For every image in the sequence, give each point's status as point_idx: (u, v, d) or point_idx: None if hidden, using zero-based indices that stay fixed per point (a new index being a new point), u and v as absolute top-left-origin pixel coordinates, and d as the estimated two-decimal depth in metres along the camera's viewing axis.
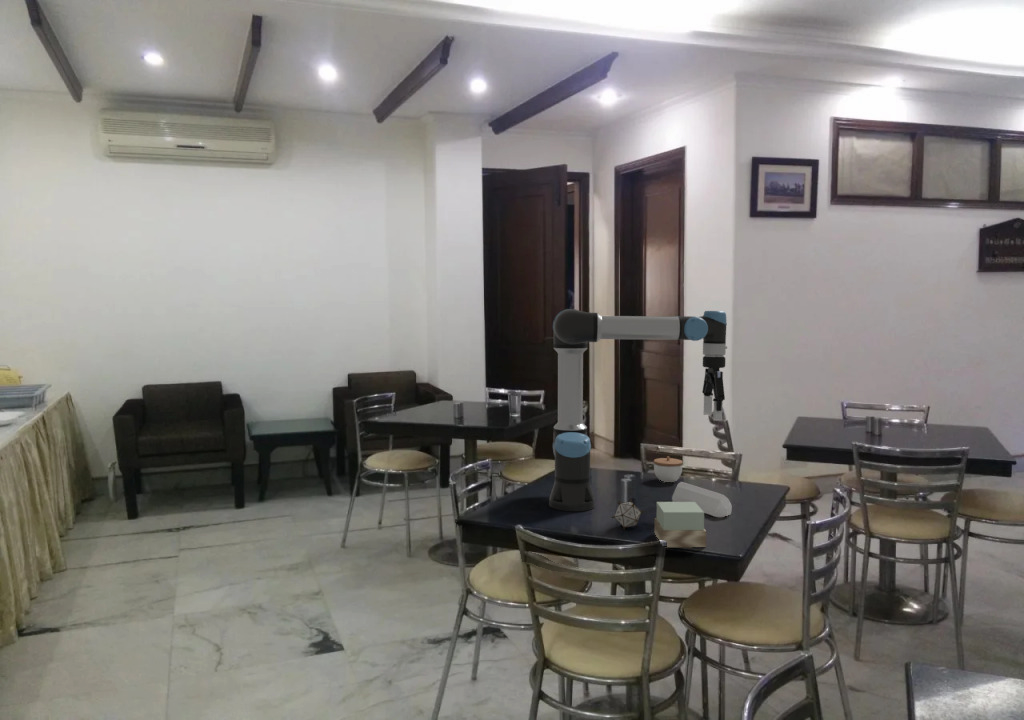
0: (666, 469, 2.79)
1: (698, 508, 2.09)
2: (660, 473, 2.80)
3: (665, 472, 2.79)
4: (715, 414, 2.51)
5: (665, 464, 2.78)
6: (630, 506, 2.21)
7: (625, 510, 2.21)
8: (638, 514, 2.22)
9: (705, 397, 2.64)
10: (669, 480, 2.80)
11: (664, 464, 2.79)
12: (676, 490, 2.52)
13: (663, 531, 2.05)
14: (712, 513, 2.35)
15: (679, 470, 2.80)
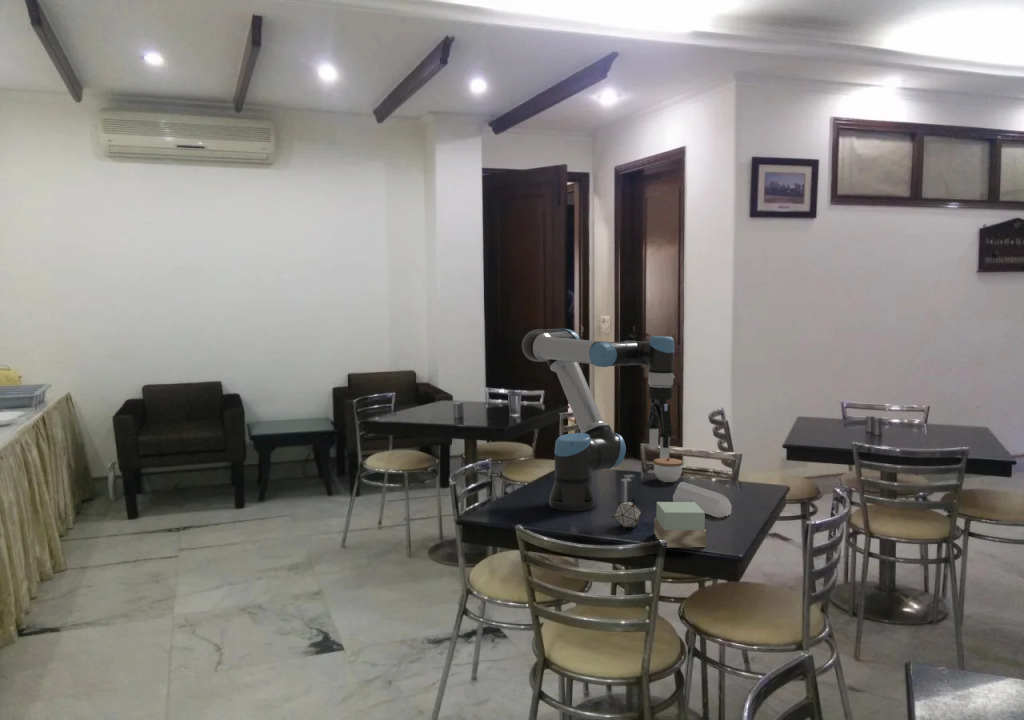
0: (666, 469, 2.79)
1: (698, 508, 2.09)
2: (660, 473, 2.80)
3: (665, 472, 2.79)
4: (662, 452, 2.27)
5: (665, 464, 2.78)
6: (630, 506, 2.21)
7: (625, 510, 2.21)
8: (638, 514, 2.22)
9: (651, 430, 2.41)
10: (669, 480, 2.80)
11: (664, 464, 2.79)
12: (677, 490, 2.52)
13: (663, 531, 2.05)
14: (711, 513, 2.35)
15: (679, 470, 2.80)
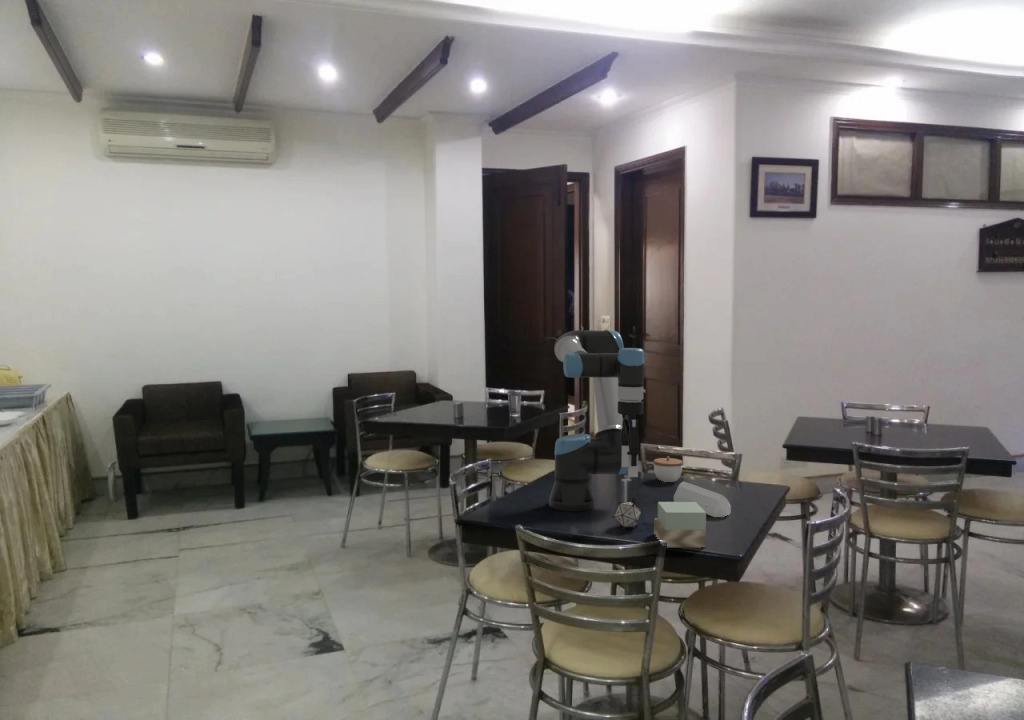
0: (666, 469, 2.79)
1: (700, 508, 2.09)
2: (660, 473, 2.80)
3: (665, 472, 2.79)
4: (630, 470, 2.15)
5: (665, 464, 2.78)
6: (630, 506, 2.21)
7: (625, 510, 2.21)
8: (638, 514, 2.22)
9: (623, 447, 2.29)
10: (669, 480, 2.80)
11: (664, 464, 2.79)
12: (678, 490, 2.52)
13: (663, 531, 2.05)
14: (710, 513, 2.35)
15: (679, 470, 2.80)
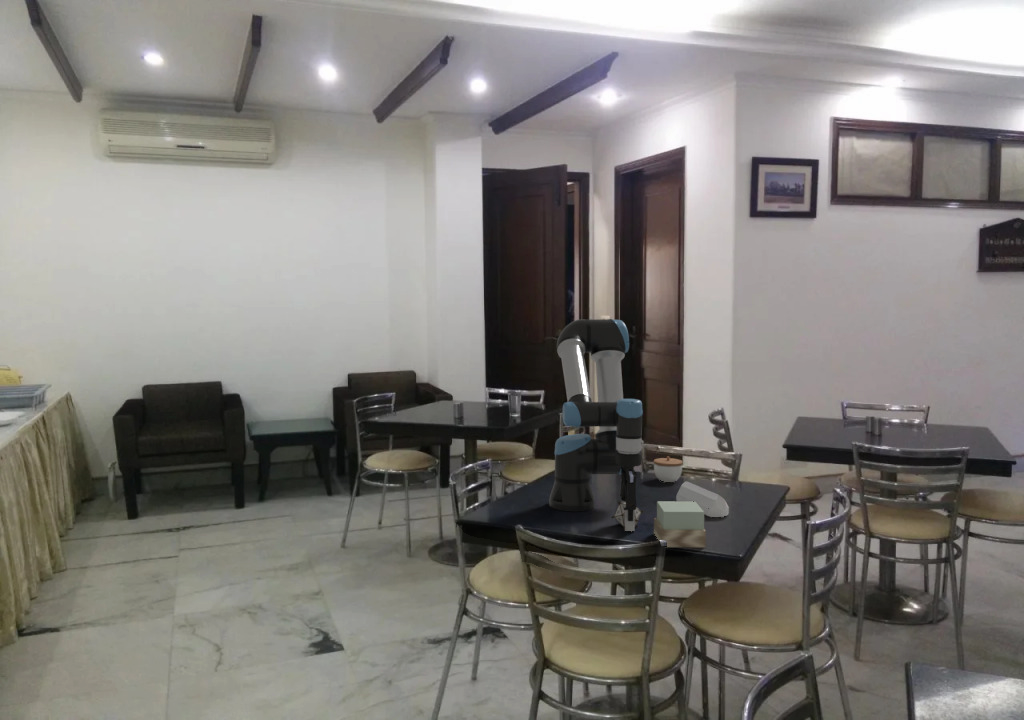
0: (666, 469, 2.79)
1: (698, 508, 2.10)
2: (660, 473, 2.80)
3: (665, 472, 2.79)
4: (627, 525, 2.19)
5: (665, 464, 2.78)
6: None
7: None
8: (638, 514, 2.22)
9: None
10: (669, 480, 2.80)
11: (664, 464, 2.79)
12: (680, 489, 2.53)
13: (663, 531, 2.05)
14: (707, 513, 2.35)
15: (679, 470, 2.80)
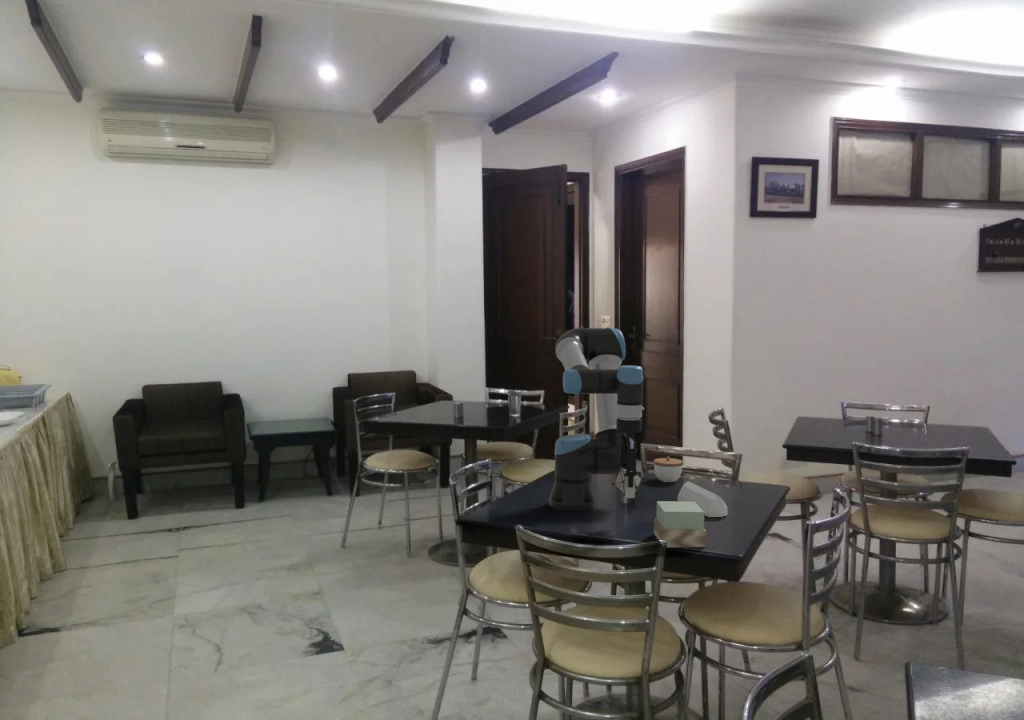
0: (666, 469, 2.79)
1: (698, 508, 2.10)
2: (660, 473, 2.80)
3: (665, 472, 2.79)
4: (627, 491, 2.19)
5: (665, 464, 2.78)
6: None
7: None
8: (638, 481, 2.21)
9: None
10: (669, 480, 2.80)
11: (664, 464, 2.79)
12: (681, 489, 2.53)
13: (663, 531, 2.05)
14: (705, 513, 2.35)
15: (679, 470, 2.80)
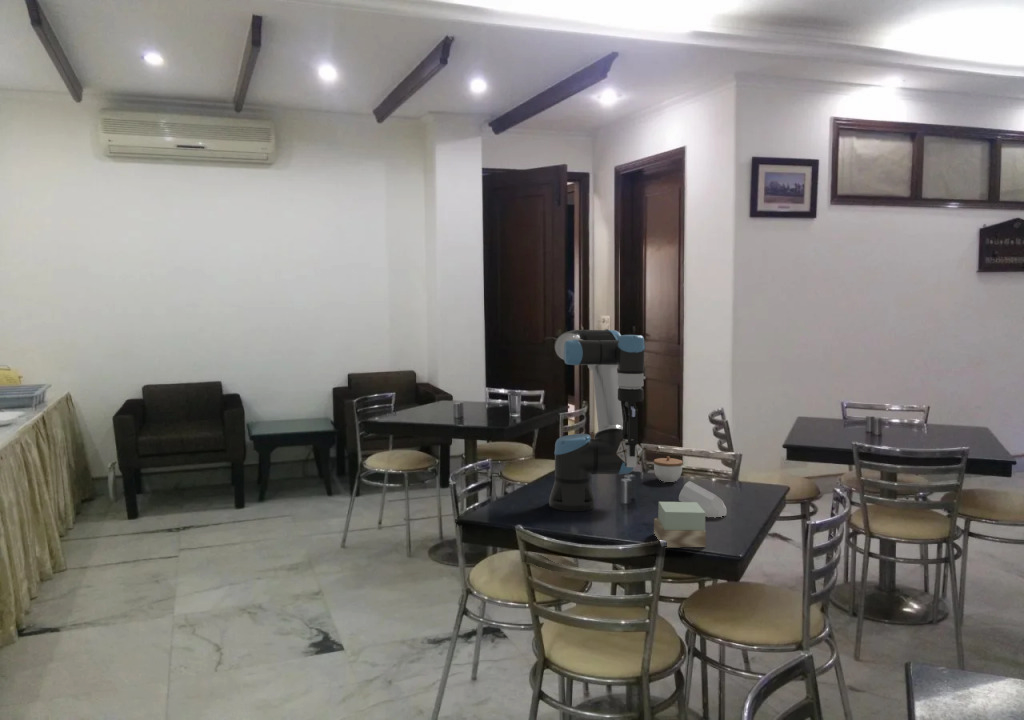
0: (666, 469, 2.79)
1: (700, 508, 2.09)
2: (660, 473, 2.80)
3: (665, 472, 2.79)
4: (629, 460, 2.17)
5: (665, 464, 2.78)
6: None
7: None
8: (640, 451, 2.20)
9: None
10: (669, 480, 2.80)
11: (664, 464, 2.79)
12: (683, 489, 2.53)
13: (663, 531, 2.05)
14: None
15: (679, 470, 2.80)
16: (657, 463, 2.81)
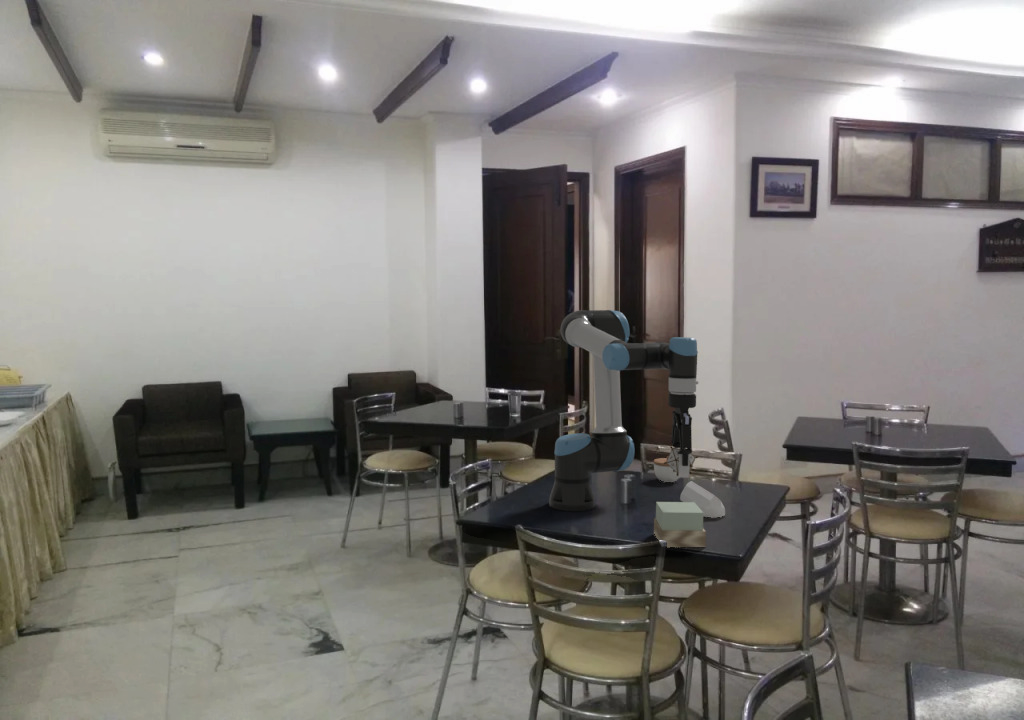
0: (666, 469, 2.79)
1: (697, 508, 2.09)
2: (660, 473, 2.80)
3: (665, 472, 2.79)
4: (681, 470, 2.05)
5: (665, 464, 2.78)
6: None
7: None
8: (692, 459, 2.08)
9: None
10: (669, 480, 2.80)
11: (664, 464, 2.79)
12: (684, 489, 2.54)
13: (663, 531, 2.05)
14: None
15: None
16: (657, 463, 2.81)
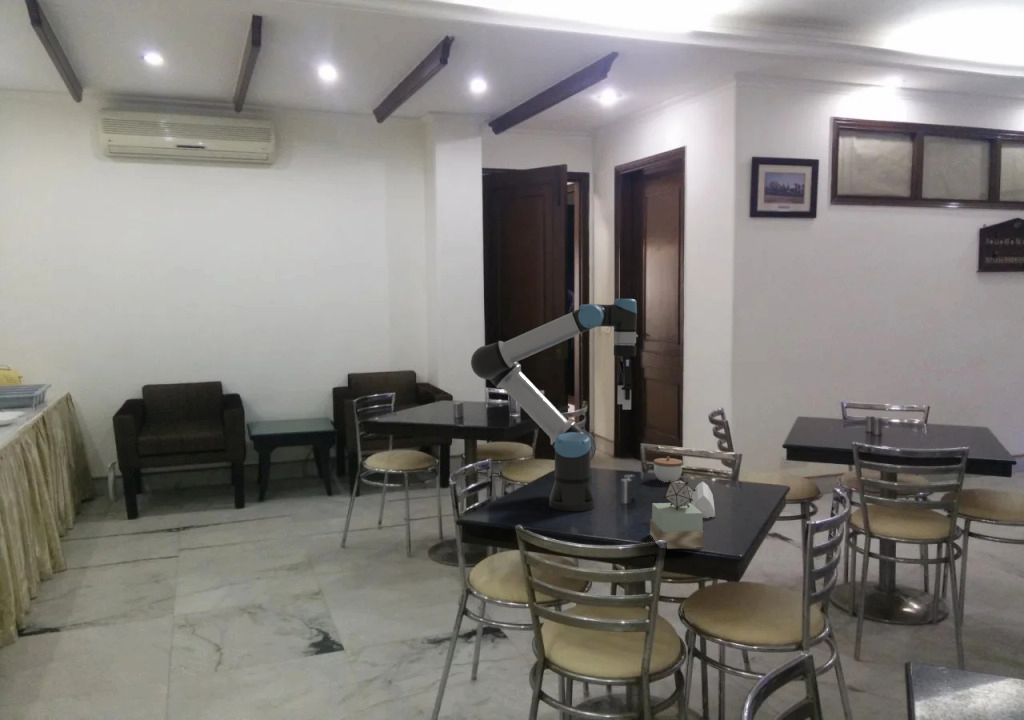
0: (666, 469, 2.79)
1: (695, 509, 2.09)
2: (660, 473, 2.80)
3: (665, 472, 2.79)
4: (624, 403, 2.48)
5: (665, 464, 2.78)
6: (683, 484, 2.07)
7: (679, 489, 2.07)
8: (691, 493, 2.08)
9: (618, 386, 2.61)
10: None
11: (664, 464, 2.79)
12: (695, 488, 2.54)
13: (660, 532, 2.04)
14: None
15: (679, 470, 2.80)
16: (657, 463, 2.81)
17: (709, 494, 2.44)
